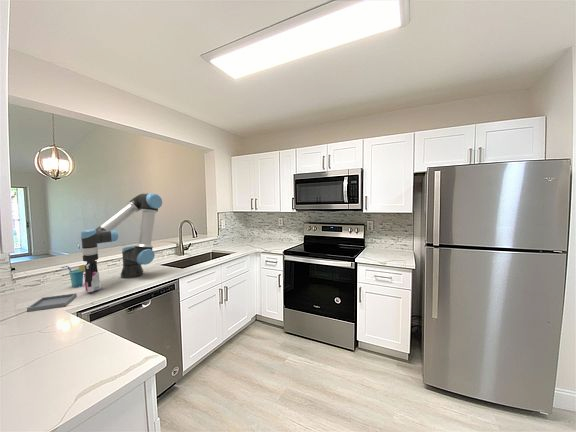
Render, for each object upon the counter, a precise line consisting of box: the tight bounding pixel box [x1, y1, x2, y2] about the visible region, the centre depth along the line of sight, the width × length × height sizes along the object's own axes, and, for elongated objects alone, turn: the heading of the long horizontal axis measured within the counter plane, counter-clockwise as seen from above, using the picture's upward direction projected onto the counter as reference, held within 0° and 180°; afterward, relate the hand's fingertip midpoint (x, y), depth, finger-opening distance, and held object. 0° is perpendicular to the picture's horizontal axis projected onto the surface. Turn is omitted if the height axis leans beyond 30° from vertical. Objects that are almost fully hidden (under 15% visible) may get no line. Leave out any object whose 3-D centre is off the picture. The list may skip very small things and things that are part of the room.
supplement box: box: [83, 271, 101, 294], centre depth 154 cm, size 6×6×12 cm
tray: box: [26, 292, 78, 313], centre depth 137 cm, size 16×16×2 cm
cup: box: [60, 264, 86, 288], centre depth 165 cm, size 14×8×15 cm, turn 129°
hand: (92, 289), depth 154 cm, fingers closed on supplement box, 8 cm apart
